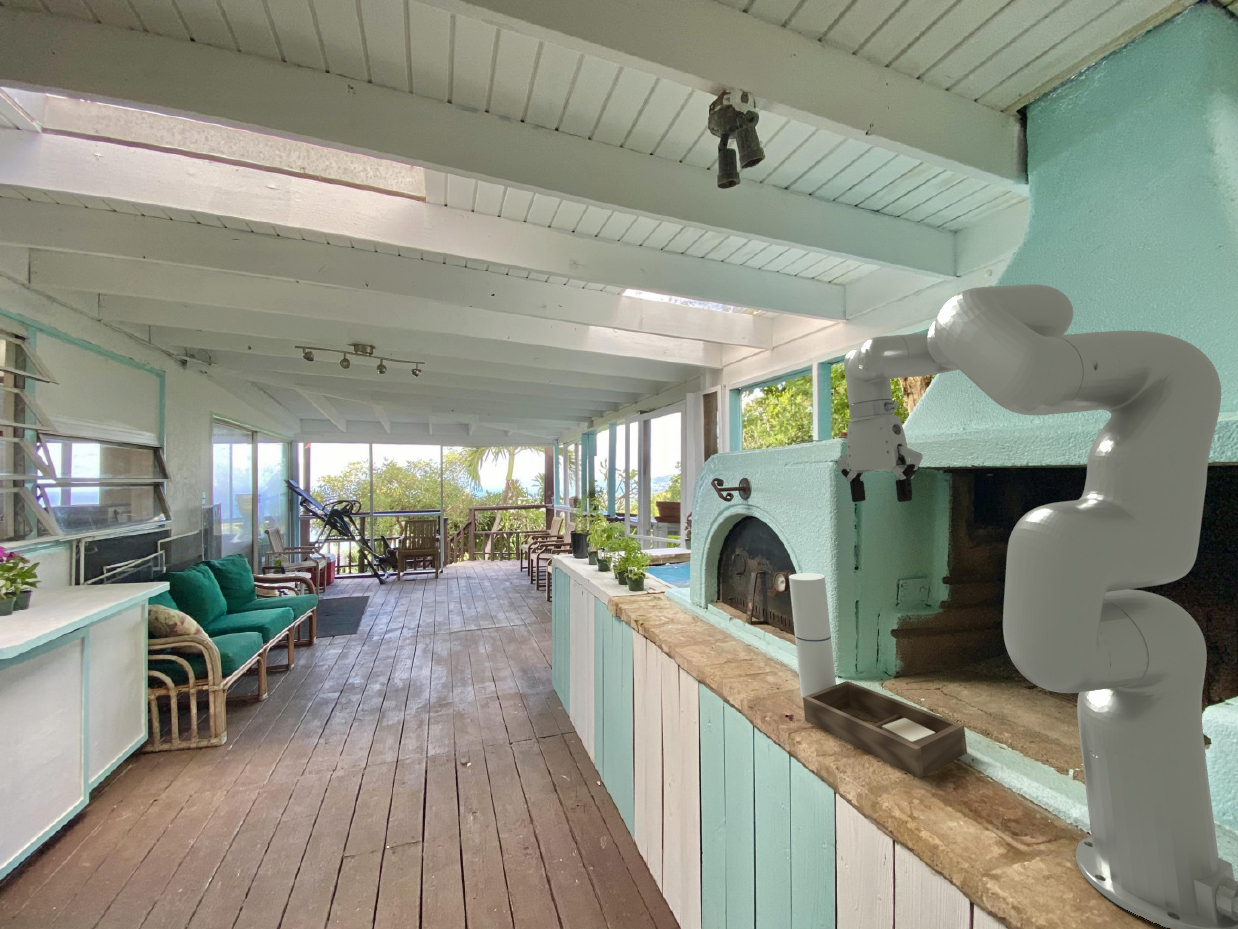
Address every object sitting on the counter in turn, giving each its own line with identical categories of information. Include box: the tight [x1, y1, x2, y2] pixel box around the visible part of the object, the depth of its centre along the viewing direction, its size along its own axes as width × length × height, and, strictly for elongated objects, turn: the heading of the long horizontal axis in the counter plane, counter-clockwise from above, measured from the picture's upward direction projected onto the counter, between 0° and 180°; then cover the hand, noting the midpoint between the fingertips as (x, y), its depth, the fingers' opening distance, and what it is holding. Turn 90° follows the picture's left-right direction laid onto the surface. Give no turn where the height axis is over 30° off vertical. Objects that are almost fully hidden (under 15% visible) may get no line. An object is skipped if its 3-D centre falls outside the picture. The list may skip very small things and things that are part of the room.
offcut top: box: [882, 718, 936, 744], centre depth 81 cm, size 6×5×2 cm
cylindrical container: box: [788, 572, 837, 699], centre depth 105 cm, size 7×7×25 cm
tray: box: [802, 680, 968, 779], centre depth 86 cm, size 22×12×5 cm, turn 26°
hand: (880, 501), depth 95 cm, fingers open, 9 cm apart
